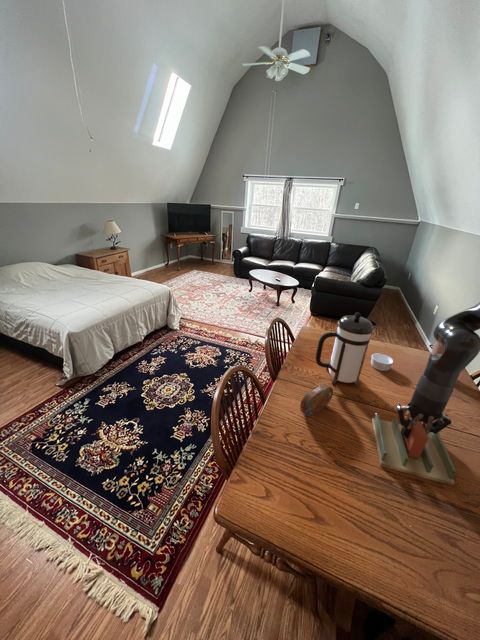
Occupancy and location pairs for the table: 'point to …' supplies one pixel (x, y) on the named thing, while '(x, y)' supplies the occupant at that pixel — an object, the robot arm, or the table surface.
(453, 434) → the table surface
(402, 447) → the rack
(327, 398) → the brown flat oval slab
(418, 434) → the block
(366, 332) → the coffee press
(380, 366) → the ramekin
